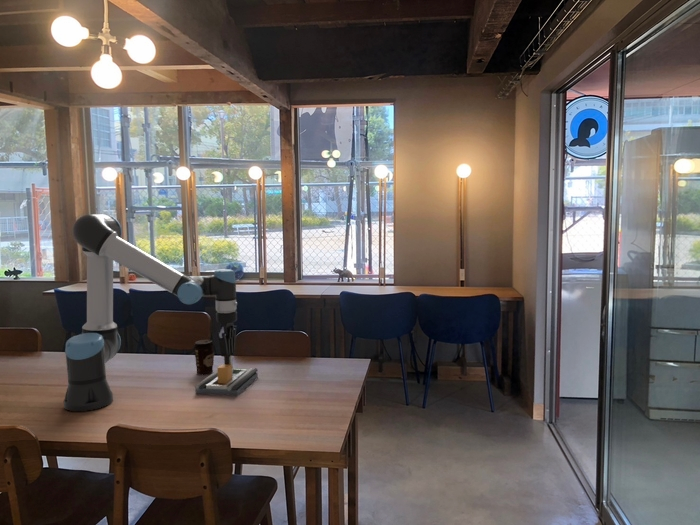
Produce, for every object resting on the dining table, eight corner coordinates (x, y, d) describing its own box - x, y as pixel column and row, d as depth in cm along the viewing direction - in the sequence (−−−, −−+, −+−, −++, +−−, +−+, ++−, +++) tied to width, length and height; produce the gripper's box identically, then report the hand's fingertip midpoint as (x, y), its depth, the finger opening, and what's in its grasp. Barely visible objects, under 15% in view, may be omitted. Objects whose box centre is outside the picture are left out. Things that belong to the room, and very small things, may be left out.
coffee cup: (219, 370, 218) (218, 339, 217) (212, 376, 210) (210, 344, 209) (198, 369, 219) (197, 338, 218) (190, 376, 211) (189, 344, 209)
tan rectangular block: (228, 383, 195) (227, 367, 194) (218, 383, 196) (217, 367, 195) (232, 380, 199) (231, 364, 198) (222, 379, 200) (221, 364, 199)
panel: (237, 395, 188) (237, 387, 188) (195, 393, 191) (195, 384, 191) (257, 377, 208) (257, 369, 207) (219, 375, 211) (218, 367, 210)
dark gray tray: (235, 391, 187) (235, 387, 187) (194, 389, 190) (194, 385, 190) (257, 371, 209) (257, 368, 208) (220, 370, 211) (220, 366, 211)
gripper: (229, 314, 191) (231, 378, 194) (242, 307, 204) (244, 367, 207) (209, 314, 193) (212, 377, 195) (223, 307, 205) (226, 367, 208)
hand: (228, 372), depth 201 cm, fingers closed
